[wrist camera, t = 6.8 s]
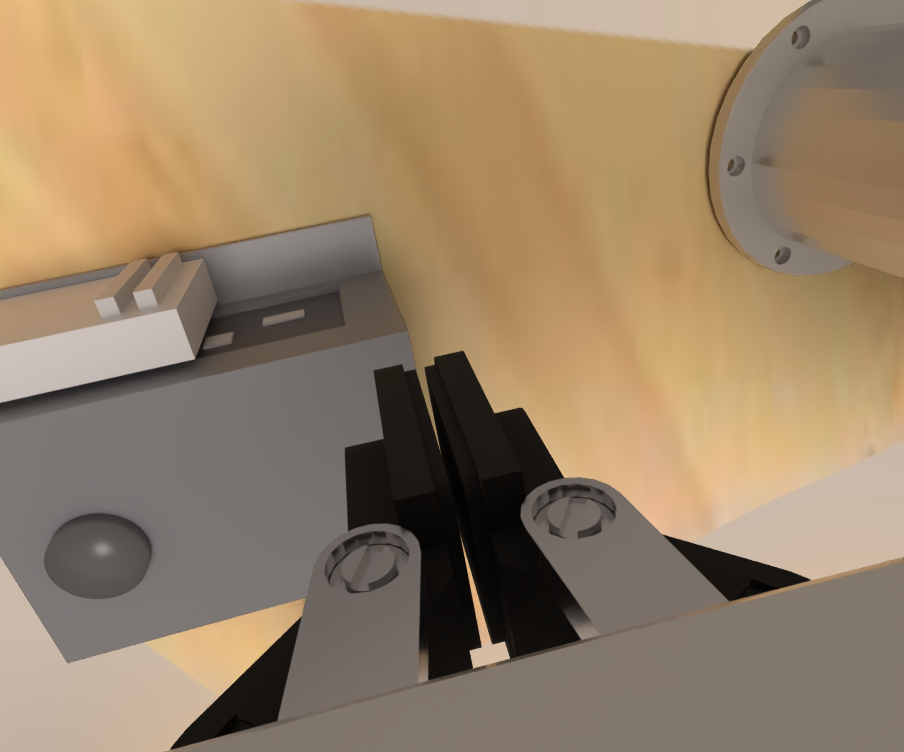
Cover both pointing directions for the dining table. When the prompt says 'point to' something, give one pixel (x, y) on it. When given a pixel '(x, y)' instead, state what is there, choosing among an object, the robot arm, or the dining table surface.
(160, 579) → the camera case
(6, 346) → the door
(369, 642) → the robot arm
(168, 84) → the dining table surface
